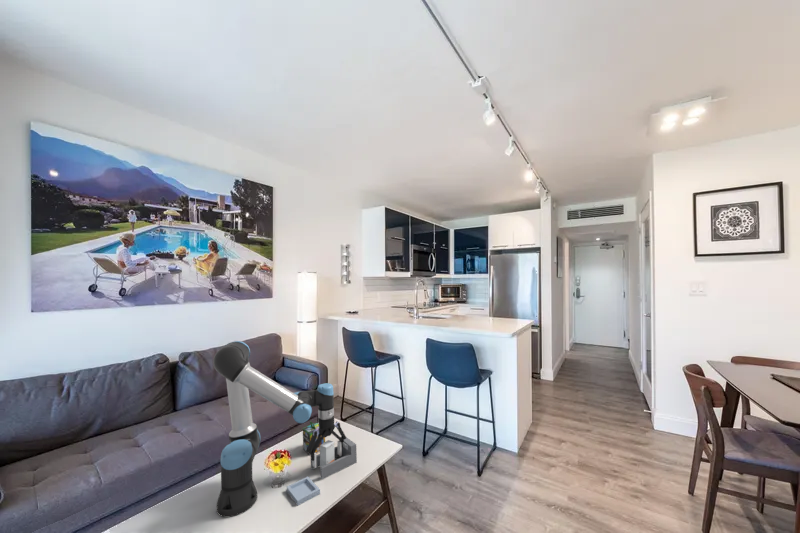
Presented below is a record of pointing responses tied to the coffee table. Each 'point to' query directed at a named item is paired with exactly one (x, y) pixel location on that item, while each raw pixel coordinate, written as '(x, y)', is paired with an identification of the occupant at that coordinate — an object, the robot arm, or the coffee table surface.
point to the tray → (303, 490)
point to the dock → (346, 459)
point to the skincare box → (326, 453)
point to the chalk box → (308, 434)
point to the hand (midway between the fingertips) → (327, 460)
